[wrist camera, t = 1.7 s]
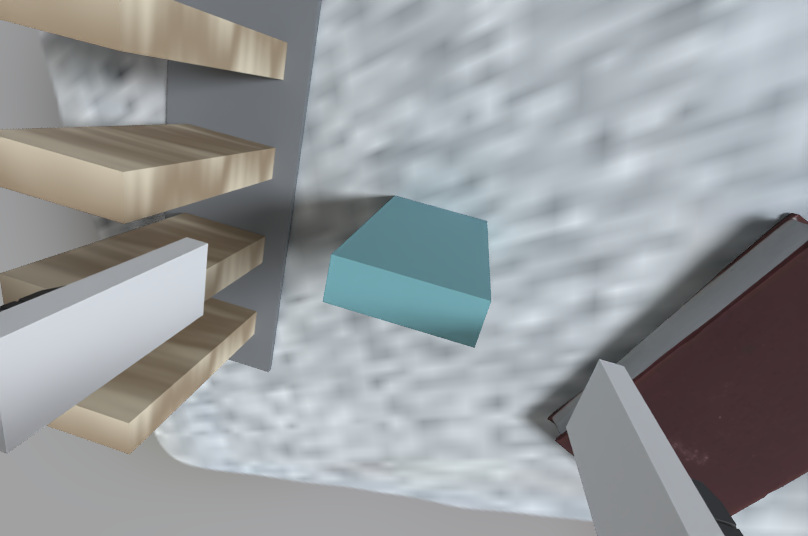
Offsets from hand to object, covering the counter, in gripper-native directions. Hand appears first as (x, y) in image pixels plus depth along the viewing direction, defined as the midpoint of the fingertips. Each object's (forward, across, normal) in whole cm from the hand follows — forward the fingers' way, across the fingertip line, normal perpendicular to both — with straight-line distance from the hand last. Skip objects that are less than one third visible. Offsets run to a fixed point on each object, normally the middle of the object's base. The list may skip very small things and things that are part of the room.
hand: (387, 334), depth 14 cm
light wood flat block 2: (+14, -14, -4) cm, 20 cm away
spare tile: (+14, 0, 0) cm, 14 cm away
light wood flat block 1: (+14, -14, +8) cm, 21 cm away
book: (+15, +21, -5) cm, 26 cm away
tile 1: (+14, -14, -10) cm, 22 cm away
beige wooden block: (+14, -14, +2) cm, 19 cm away
